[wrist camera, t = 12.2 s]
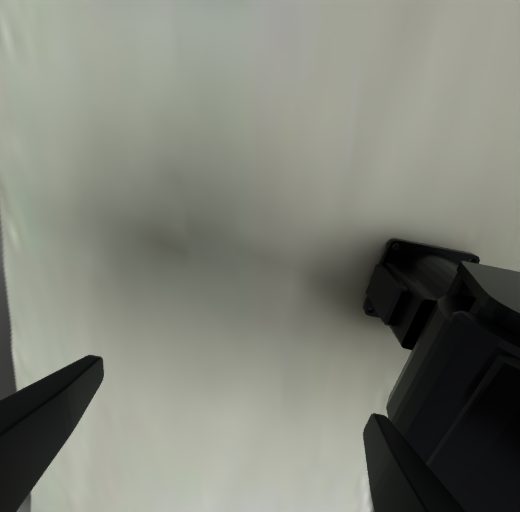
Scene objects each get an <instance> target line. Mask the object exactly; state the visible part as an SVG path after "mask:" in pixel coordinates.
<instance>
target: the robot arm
mask: <svg viewBox="0 0 520 512" xmlns="http://www.w3.org/2000/svg"><path fill="white" fill-rule="evenodd" d="M396 243H398V246H397V247H396V248H393V245H394V244H396ZM470 259H472V261H471V262H468V261H469V260H470ZM479 261H480V259H479V257H478V256H476V255H474V254H472V253H467V252H462V251H457V250H452V249H447V248H442V247H437V246H432V245H427V244H422V243H416V242H411V241H406V240H401V239H391V240H390V241H389V242H388V243H387V246H386V249H385V251H384V254H383V256H382V259H381V262H380V263H379V264H377V265H376V267H375V270H374V272H373V275H372V278H371V280H370V283H369V286H368V288H367V291H366V294H367V298H366V301H365V303H364V306H363V310H364V312H365V314H366V315H369V316H374V317H379V318H381V319H382V321H383V323H384V324H385V325H387V326H390V328H391V329H392V331H393V333H394V334H395V336H396V338H397V339H398V341H399V343H400V344H401V346H402V347H403V348H405V349H410V350H412V352H411V354H410V356H409V358H408V360H407V362H406V364H405V366H404V368H403V370H402V372H401V374H400V376H399V378H398V380H397V382H396V384H395V386H394V388H393V390H392V392H391V394H390V396H389V399H388V403H387V407H386V408H387V414H388V418H387V417H386V416H384V415H380V414H376V413H373V414H371V416H370V418H369V420H368V422H367V424H366V426H365V428H364V432H363V439H364V446H365V454H366V462H367V470H368V477H369V485H370V491H371V497H372V502H373V507H374V511H375V512H520V272H517V271H512V270H507V269H502V268H496V267H491V266H486V265H481V264H479ZM369 308H372V310H368V309H369ZM103 377H104V369H103V359H102V357H99V356H94V355H88V356H85V357H83V358H81V359H80V360H78V361H76V362H74V363H72V364H70V365H68V366H66V367H64V368H62V369H60V370H58V371H56V372H54V373H52V374H50V375H48V376H47V377H45V378H43V379H41V380H39V381H37V382H35V383H33V384H31V385H29V386H27V387H25V388H23V389H21V390H19V391H17V392H15V393H14V394H12V395H10V396H8V397H6V398H4V399H2V400H0V512H16V511H17V510H18V509H19V507H20V506H21V504H22V503H23V501H24V500H25V499H26V497H27V496H28V494H29V493H30V492H31V490H32V489H33V487H34V486H35V485H36V483H37V482H38V480H39V479H40V477H41V476H42V475H43V473H44V472H45V470H46V469H47V468H48V466H49V465H50V463H51V462H52V461H53V459H54V458H55V456H56V455H57V453H58V452H59V451H60V449H61V448H62V446H63V445H64V444H65V442H66V441H67V439H68V438H69V436H70V435H71V433H72V432H73V430H74V429H75V427H76V426H77V424H78V422H79V421H80V419H81V417H82V415H83V414H84V412H85V410H86V409H87V407H88V405H89V403H90V402H91V400H92V398H93V397H94V395H95V393H96V391H97V390H98V388H99V386H100V385H101V383H102V381H103Z"/></svg>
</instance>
